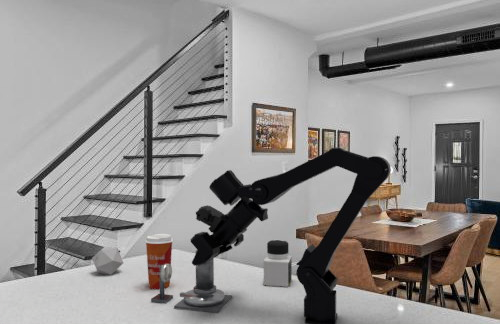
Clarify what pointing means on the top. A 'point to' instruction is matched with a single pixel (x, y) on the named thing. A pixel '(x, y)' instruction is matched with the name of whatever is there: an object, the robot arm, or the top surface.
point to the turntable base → (204, 308)
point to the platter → (203, 298)
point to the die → (107, 260)
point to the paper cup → (158, 257)
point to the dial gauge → (164, 277)
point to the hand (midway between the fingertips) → (197, 261)
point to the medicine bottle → (277, 264)
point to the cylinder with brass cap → (205, 278)
